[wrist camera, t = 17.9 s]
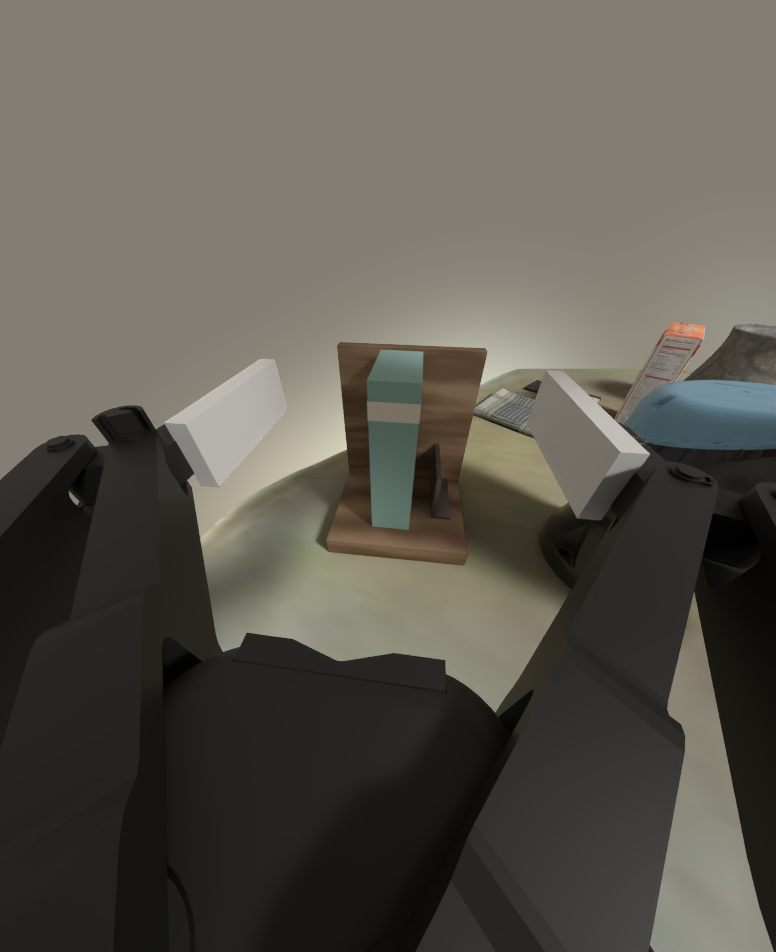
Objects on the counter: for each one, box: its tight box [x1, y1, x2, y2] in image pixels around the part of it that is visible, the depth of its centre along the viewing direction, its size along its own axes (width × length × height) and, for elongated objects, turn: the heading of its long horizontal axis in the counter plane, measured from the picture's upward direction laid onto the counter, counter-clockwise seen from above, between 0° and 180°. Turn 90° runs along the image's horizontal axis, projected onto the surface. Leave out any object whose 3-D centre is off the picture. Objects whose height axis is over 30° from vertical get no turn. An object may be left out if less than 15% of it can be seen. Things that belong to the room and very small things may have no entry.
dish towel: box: [473, 388, 535, 438], centre depth 69 cm, size 19×18×3 cm
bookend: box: [430, 443, 451, 519], centre depth 40 cm, size 9×3×7 cm, turn 174°
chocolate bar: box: [524, 380, 601, 403], centre depth 80 cm, size 9×1×18 cm
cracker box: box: [614, 322, 705, 424], centre depth 59 cm, size 14×6×21 cm, turn 138°
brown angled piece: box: [326, 342, 487, 565], centre depth 36 cm, size 18×18×22 cm
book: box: [367, 350, 423, 530], centre depth 35 cm, size 5×10×20 cm, turn 174°
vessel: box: [684, 324, 776, 385], centre depth 63 cm, size 22×22×20 cm
